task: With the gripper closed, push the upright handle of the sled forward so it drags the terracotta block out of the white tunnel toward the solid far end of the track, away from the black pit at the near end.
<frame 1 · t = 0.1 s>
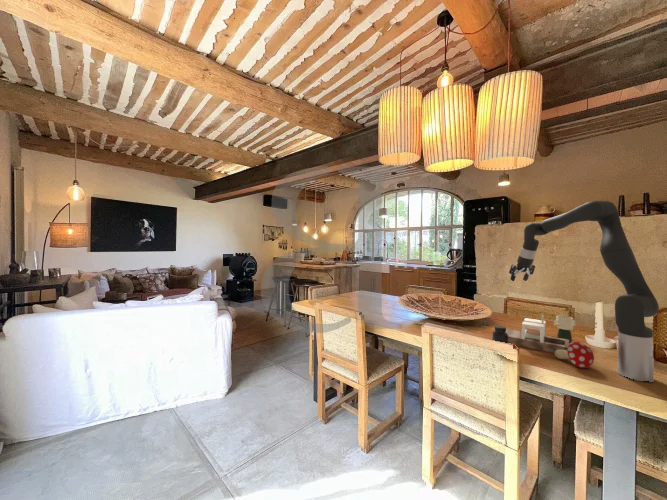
hand: (518, 280, 163), 31 cm above the table, tool tilted 20°, fingers open, 8 cm apart
decorative mushroom: (573, 364, 120), on the table
sled: (533, 324, 142), point 11 cm above the table, slide at 0.0 cm
supplement bottle: (499, 350, 135), on the table
tunnel: (533, 329, 142), on the track, point 8 cm above the table
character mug: (564, 340, 148), on the table
block: (533, 337, 142), point 4 cm above the table, touching track
track: (533, 344, 142), on the table
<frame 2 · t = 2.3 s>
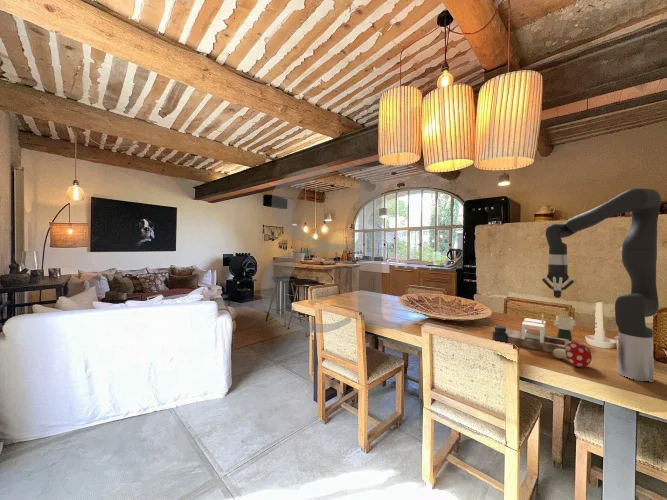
hand: (557, 297, 135), 26 cm above the table, tool pointing down, fingers closed
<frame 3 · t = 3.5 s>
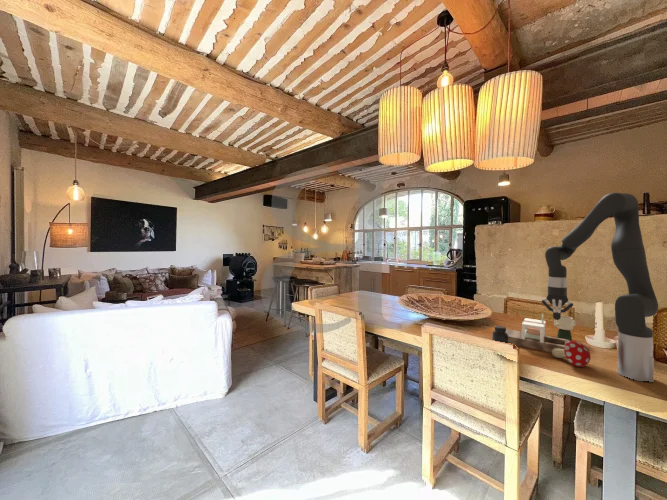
hand: (556, 319, 136), 15 cm above the table, tool pointing down, fingers closed
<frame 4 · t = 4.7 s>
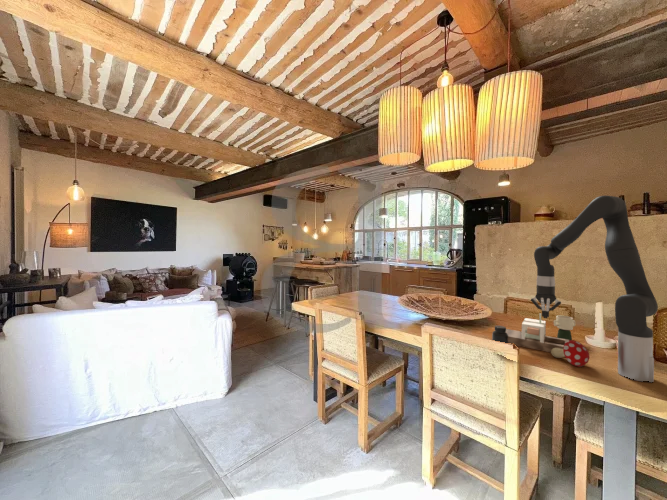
hand: (545, 317, 139), 15 cm above the table, tool pointing down, fingers closed
sled: (531, 324, 143), point 11 cm above the table, slide at 1.0 cm, touching gripper
block: (533, 337, 142), point 4 cm above the table
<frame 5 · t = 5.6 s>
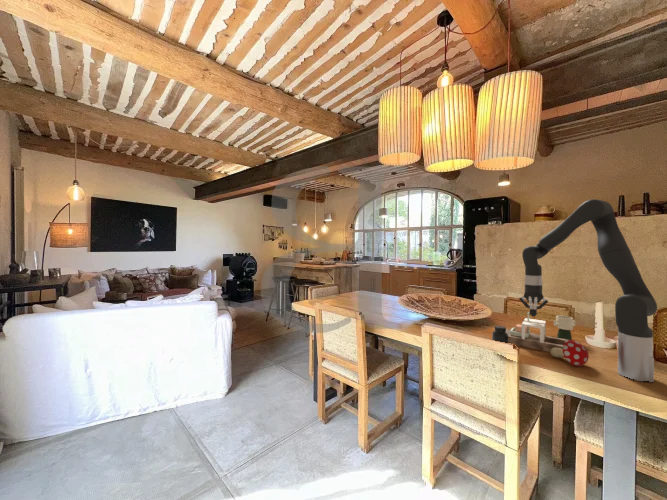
hand: (533, 316, 142), 15 cm above the table, tool pointing down, fingers closed
sled: (520, 322, 146), point 11 cm above the table, slide at 6.0 cm, touching gripper
block: (521, 335, 146), point 4 cm above the table
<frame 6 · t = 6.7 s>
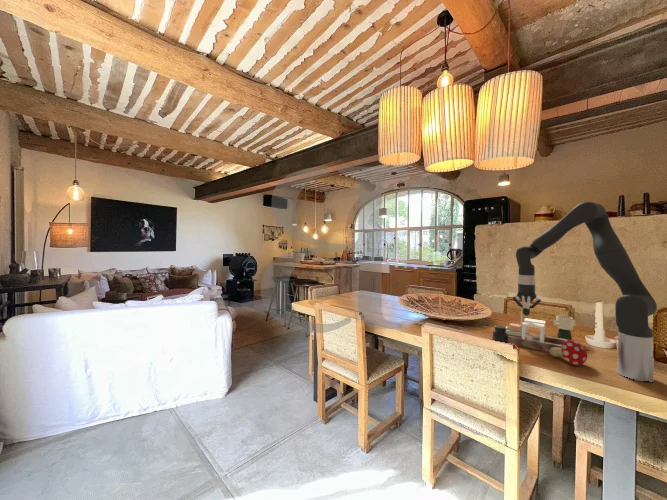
hand: (526, 315, 144), 15 cm above the table, tool pointing down, fingers closed
sled: (513, 321, 148), point 11 cm above the table, slide at 9.0 cm, touching block, gripper
block: (515, 333, 148), point 4 cm above the table, touching sled, track
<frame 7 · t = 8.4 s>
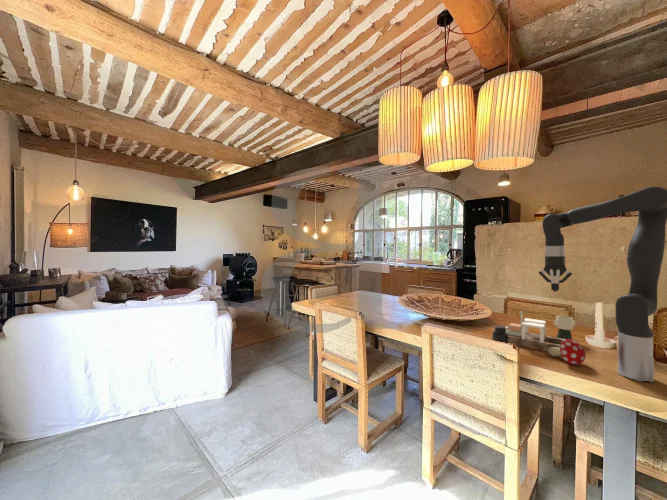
hand: (555, 291, 129), 31 cm above the table, tool pointing down, fingers closed
sled: (513, 321, 148), point 11 cm above the table, slide at 9.0 cm, touching block
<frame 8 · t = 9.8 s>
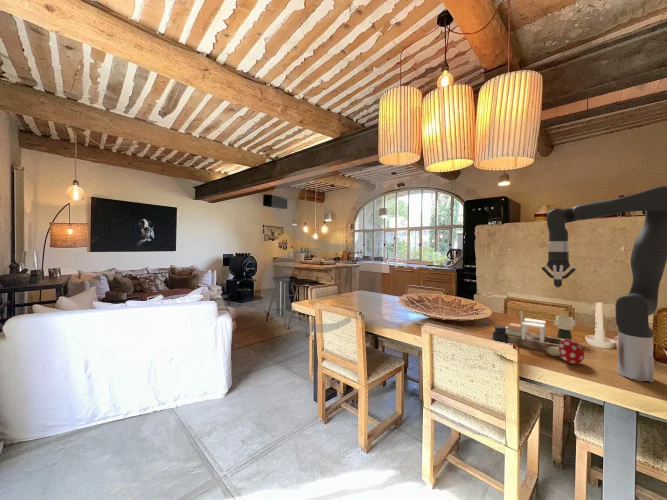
hand: (558, 287, 128), 33 cm above the table, tool pointing down, fingers closed
at the end: sled slide at 9.0 cm; block inside the target area on the track (2.1 cm from its centre), point 4.0 cm above the track's base; block tilted 0° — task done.
